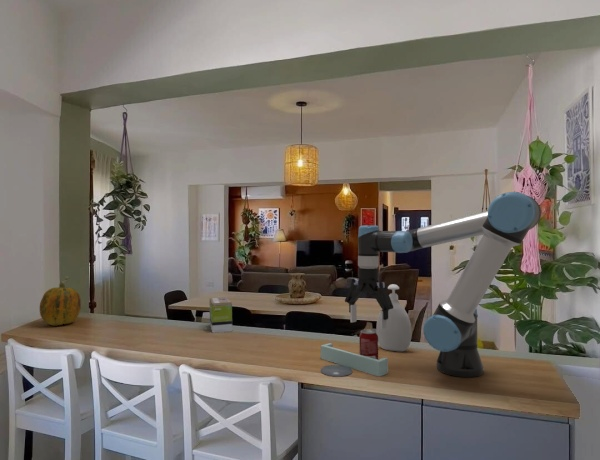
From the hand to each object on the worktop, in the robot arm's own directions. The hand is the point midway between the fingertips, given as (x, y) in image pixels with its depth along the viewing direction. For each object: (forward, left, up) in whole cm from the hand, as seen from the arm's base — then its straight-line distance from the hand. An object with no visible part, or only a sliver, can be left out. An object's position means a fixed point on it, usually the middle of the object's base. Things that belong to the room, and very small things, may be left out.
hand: (367, 325), depth 149 cm
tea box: (+85, +9, -14) cm, 86 cm away
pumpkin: (+152, +65, -14) cm, 166 cm away
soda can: (0, 0, -14) cm, 14 cm away
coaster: (+3, +14, -14) cm, 20 cm away
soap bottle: (+4, -23, -14) cm, 27 cm away
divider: (+3, +6, -14) cm, 15 cm away
